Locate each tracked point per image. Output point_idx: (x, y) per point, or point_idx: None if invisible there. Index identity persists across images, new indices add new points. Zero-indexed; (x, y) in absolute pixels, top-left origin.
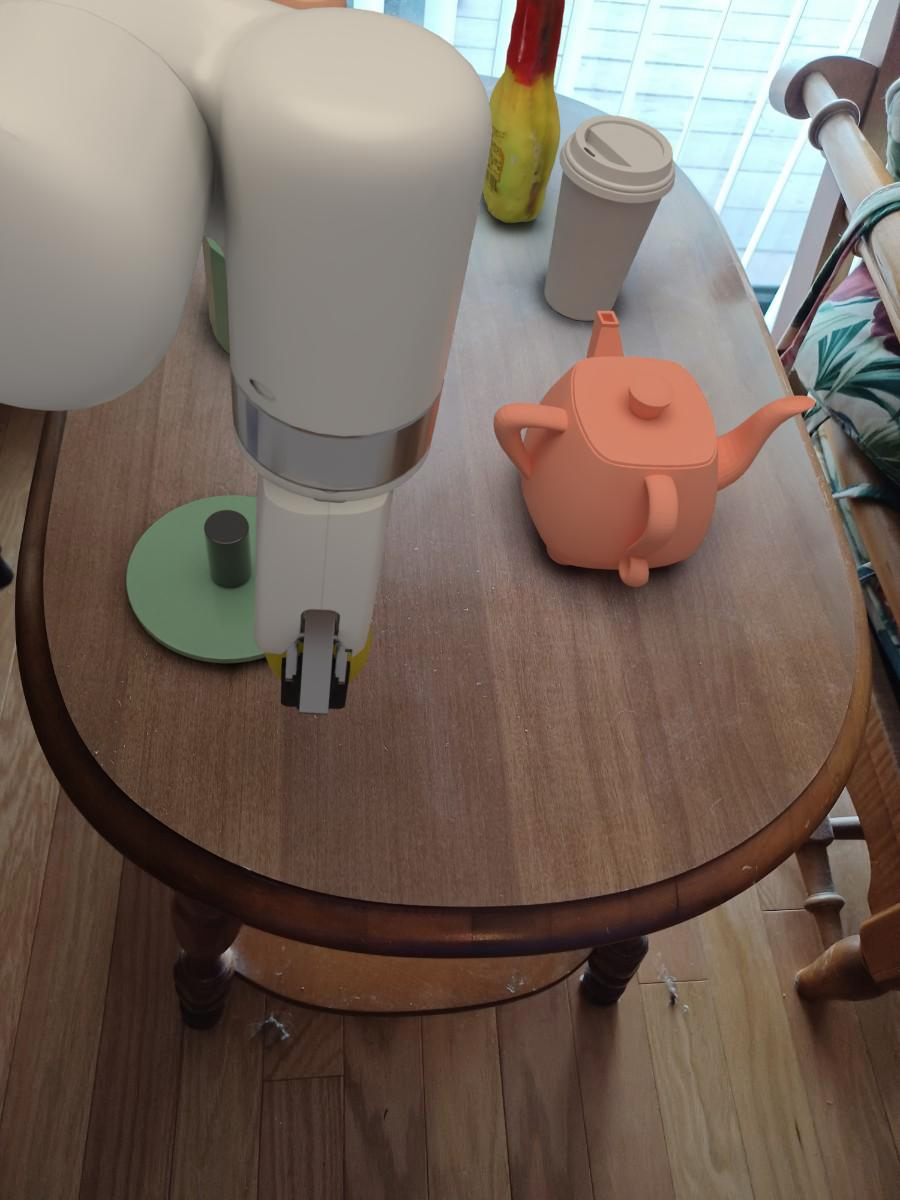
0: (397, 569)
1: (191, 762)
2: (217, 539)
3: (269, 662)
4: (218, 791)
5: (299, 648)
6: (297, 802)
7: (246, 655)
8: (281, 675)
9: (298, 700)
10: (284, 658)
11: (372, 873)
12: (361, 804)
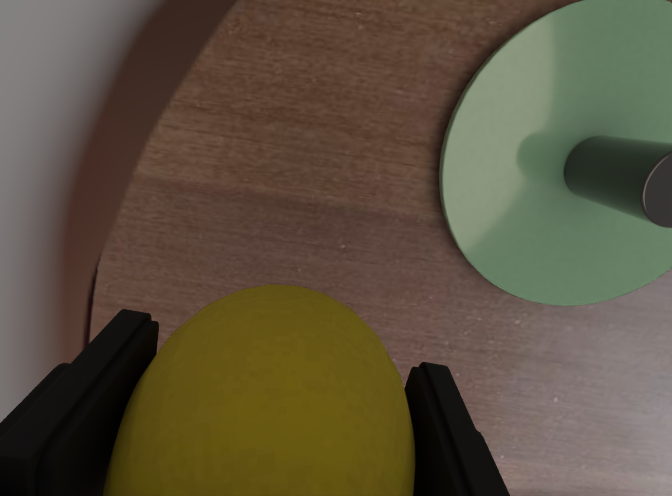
0: (532, 373)
1: (302, 75)
2: (660, 168)
3: (216, 309)
4: (254, 108)
5: (113, 482)
6: (227, 208)
7: (444, 173)
8: (34, 405)
9: (30, 396)
10: (22, 467)
11: (130, 279)
12: (217, 281)
